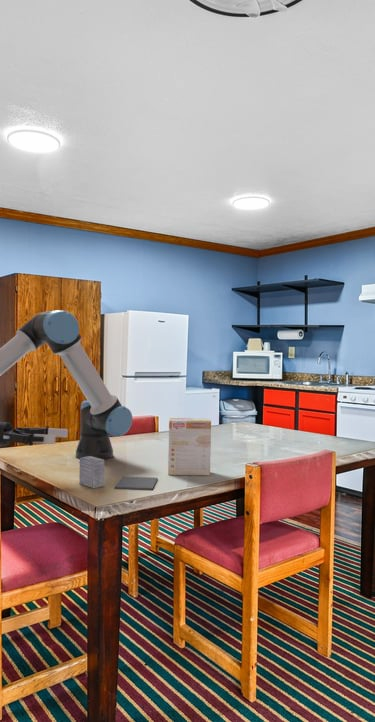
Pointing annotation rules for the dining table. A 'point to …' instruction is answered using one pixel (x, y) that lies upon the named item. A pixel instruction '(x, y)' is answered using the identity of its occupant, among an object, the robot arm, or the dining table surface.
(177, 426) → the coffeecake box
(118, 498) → the dining table surface
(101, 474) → the medicine box
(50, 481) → the dining table surface
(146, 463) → the dining table surface
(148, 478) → the mat
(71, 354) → the robot arm
